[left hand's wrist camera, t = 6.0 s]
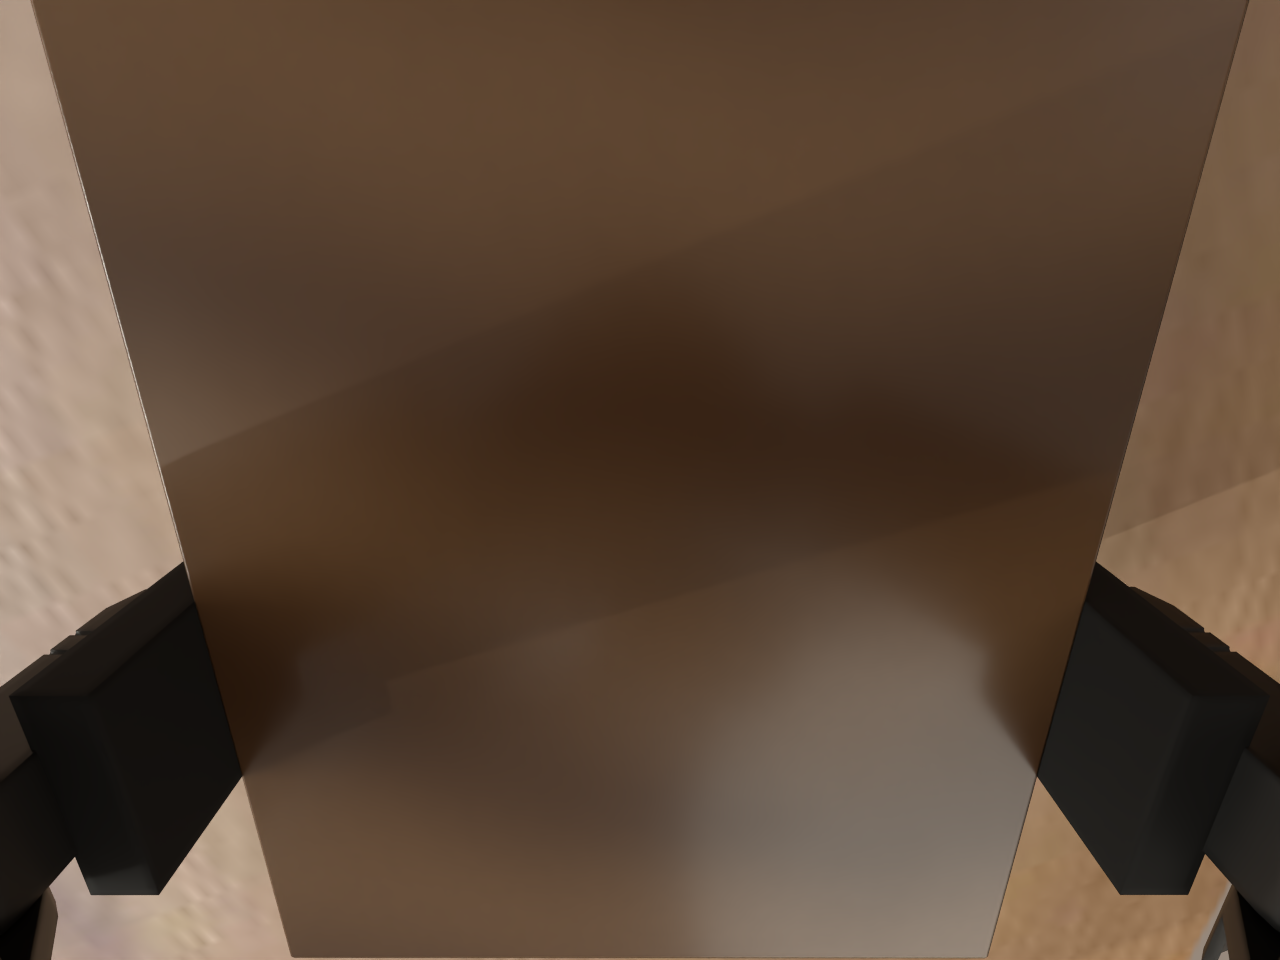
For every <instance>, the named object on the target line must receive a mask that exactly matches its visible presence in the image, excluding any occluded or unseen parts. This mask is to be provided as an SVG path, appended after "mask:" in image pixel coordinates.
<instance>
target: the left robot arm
mask: <svg viewBox="0 0 1280 960" xmlns="http://www.w3.org/2000/svg"><path fill="white" fill-rule="evenodd" d="M241 777H242V774H241V770H240V767H239V763H238V759H237V756H236V752H235V748H234V745H233V741H232V737H231V734H230V730H229V726H228V723H227V719H226V715H225V712H224V708H223V704H222V701H221V697H220V693H219V690H218V686H217V682H216V679H215V675H214V671H213V668H212V664H211V660H210V657H209V653H208V649H207V645H206V642H205V638H204V634H203V631H202V627H201V623H200V620H199V616H198V612H197V609H196V605H195V601H194V598H193V594H192V590H191V587H190V583H189V579H188V576H187V572H186V568H185V565H184V561H183V562H182V563H181V564H179V565H178V566H177V567H175V568H174V569H173V570H172V571H170V572H169V573H168V574H166V575H165V576H164V577H162V578H161V579H160V580H159V581H157V582H156V583H155V584H153V585H152V586H151V587H149V588H148V589H145V590H143V591H141V592H139V593H137V594H135V595H133V596H131V597H129V598H127V599H125V600H122V601H120V602H118V603H116V604H114V605H112V606H110V607H108V608H106V609H105V610H103V611H102V612H100V613H99V614H98V615H96V616H95V617H94V618H92V619H91V620H90V621H88V622H87V623H86V624H84V625H83V626H82V627H80V628H79V629H78V630H76V634H75V635H70V636H68V637H67V638H66V639H64V640H63V641H62V642H60V643H59V644H58V645H56V646H55V647H54V648H52V649H51V652H50V655H43V656H42V657H40V658H39V659H37V660H36V661H35V662H33V663H32V664H31V665H29V666H28V667H27V668H25V669H24V670H23V671H21V672H20V673H19V674H17V675H16V676H15V677H13V678H12V679H11V680H9V681H8V682H7V683H5V684H4V685H3V686H1V687H0V960H51V956H52V950H53V944H54V938H55V932H56V926H57V920H58V913H57V907H56V901H55V899H54V897H53V894H52V892H51V890H50V888H49V886H50V885H51V883H52V882H53V881H54V880H55V879H56V878H57V877H58V875H59V874H60V873H61V872H62V871H63V870H64V869H65V867H66V866H67V865H68V864H69V863H70V862H71V861H72V859H73V858H74V857H75V858H76V860H77V863H78V865H79V867H80V870H81V872H82V875H83V877H84V879H85V882H86V884H87V887H88V889H89V892H90V894H91V895H159V894H160V893H161V891H162V890H163V888H164V887H165V886H166V884H167V883H168V881H169V880H170V878H171V877H172V876H173V874H174V873H175V871H176V870H177V868H178V867H179V866H180V864H181V863H182V861H183V860H184V858H185V857H186V856H187V854H188V853H189V851H190V850H191V848H192V847H193V846H194V844H195V843H196V841H197V840H198V838H199V837H200V836H201V834H202V833H203V831H204V830H205V829H206V827H207V826H208V824H209V823H210V821H211V820H212V819H213V817H214V816H215V814H216V813H217V811H218V810H219V809H220V807H221V806H222V804H223V803H224V801H225V800H226V799H227V797H228V796H229V794H230V793H231V791H232V790H233V789H234V787H235V786H236V784H237V783H238V781H239V780H240V779H241ZM1037 777H1038V778H1039V780H1040V781H1041V783H1042V784H1043V785H1044V787H1045V788H1046V790H1047V791H1048V793H1049V794H1050V795H1051V797H1052V798H1053V800H1054V801H1055V803H1056V804H1057V805H1058V807H1059V808H1060V810H1061V811H1062V813H1063V814H1064V815H1065V817H1066V818H1067V820H1068V821H1069V822H1070V824H1071V825H1072V827H1073V828H1074V830H1075V831H1076V832H1077V834H1078V835H1079V837H1080V838H1081V840H1082V841H1083V842H1084V844H1085V845H1086V847H1087V848H1088V850H1089V851H1090V852H1091V854H1092V855H1093V857H1094V858H1095V860H1096V861H1097V862H1098V864H1099V865H1100V867H1101V868H1102V870H1103V871H1104V872H1105V874H1106V875H1107V877H1108V878H1109V880H1110V881H1111V882H1112V884H1113V885H1114V887H1115V888H1116V889H1117V891H1118V892H1119V894H1120V895H1188V894H1189V891H1190V889H1191V887H1192V884H1193V882H1194V879H1195V877H1196V874H1197V872H1198V870H1199V867H1200V865H1201V862H1202V860H1203V857H1204V855H1205V854H1206V855H1207V856H1208V857H1209V859H1210V860H1211V861H1212V862H1213V863H1214V864H1215V865H1216V867H1217V868H1218V869H1219V870H1220V871H1221V872H1222V873H1223V874H1224V876H1225V877H1226V878H1227V879H1228V880H1229V881H1230V882H1231V884H1232V885H1231V888H1230V890H1229V892H1228V895H1227V897H1226V899H1225V901H1224V903H1223V906H1222V908H1221V910H1220V913H1219V915H1218V917H1217V919H1216V922H1215V924H1214V926H1213V928H1212V931H1211V933H1210V935H1209V937H1208V940H1207V942H1206V944H1205V946H1204V949H1203V955H1202V960H1218V959H1219V956H1220V954H1221V953H1222V952H1224V951H1227V950H1228V954H1229V960H1280V684H1279V683H1278V682H1276V681H1275V680H1274V679H1272V678H1271V677H1269V676H1268V675H1267V674H1265V673H1264V672H1263V671H1261V670H1260V669H1259V668H1257V667H1256V666H1255V665H1253V664H1252V663H1251V662H1249V661H1248V660H1247V659H1245V658H1244V657H1242V656H1241V655H1240V654H1238V653H1237V652H1230V650H1229V646H1228V645H1226V644H1225V643H1224V642H1222V641H1221V640H1220V639H1218V638H1217V637H1215V636H1214V635H1213V634H1211V633H1205V632H1204V628H1203V627H1202V626H1201V625H1199V624H1198V623H1197V622H1195V621H1194V620H1192V619H1191V618H1190V617H1188V616H1187V615H1186V614H1184V613H1183V612H1182V611H1180V610H1179V609H1178V608H1176V607H1175V606H1173V605H1171V604H1169V603H1167V602H1165V601H1163V600H1161V599H1159V598H1157V597H1155V596H1152V595H1150V594H1148V593H1146V592H1144V591H1142V590H1140V589H1138V588H1136V587H1128V586H1127V585H1126V584H1124V583H1123V582H1122V581H1121V580H1119V579H1118V578H1117V577H1115V576H1114V575H1113V574H1112V573H1110V572H1109V571H1108V570H1106V569H1105V568H1104V567H1102V566H1101V565H1100V564H1099V563H1097V562H1095V566H1094V570H1093V573H1092V577H1091V580H1090V584H1089V588H1088V591H1087V595H1086V599H1085V602H1084V606H1083V610H1082V613H1081V617H1080V621H1079V624H1078V628H1077V632H1076V635H1075V639H1074V643H1073V646H1072V650H1071V654H1070V657H1069V661H1068V665H1067V668H1066V672H1065V676H1064V679H1063V683H1062V687H1061V690H1060V694H1059V698H1058V701H1057V705H1056V708H1055V712H1054V716H1053V719H1052V723H1051V727H1050V730H1049V734H1048V738H1047V741H1046V745H1045V749H1044V752H1043V756H1042V760H1041V763H1040V767H1039V771H1038V774H1037Z"/></svg>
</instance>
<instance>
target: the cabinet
mask: <svg viewBox="0 0 1280 960" xmlns="http://www.w3.org/2000/svg"><path fill="white" fill-rule="evenodd" d="M1248 3H1249V0H31V4H32V7H33V11H34V15H35V18H36V22H37V26H38V29H39V33H40V37H41V40H42V44H43V48H44V51H45V55H46V59H47V62H48V66H49V70H50V73H51V77H52V81H53V84H54V88H55V92H56V95H57V99H58V103H59V106H60V110H61V114H62V117H63V121H64V125H65V128H66V132H67V136H68V139H69V143H70V147H71V150H72V154H73V158H74V161H75V165H76V169H77V172H78V176H79V180H80V183H81V187H82V191H83V194H84V198H85V202H86V205H87V209H88V213H89V216H90V220H91V224H92V227H93V231H94V235H95V238H96V242H97V246H98V249H99V253H100V257H101V260H102V264H103V268H104V271H105V275H106V279H107V282H108V286H109V290H110V293H111V297H112V301H113V304H114V308H115V312H116V315H117V319H118V323H119V326H120V330H121V334H122V337H123V341H124V345H125V348H126V352H127V356H128V359H129V363H130V367H131V370H132V374H133V378H134V381H135V385H136V389H137V392H138V396H139V400H140V403H141V407H142V411H143V414H144V418H145V422H146V425H147V429H148V433H149V436H150V440H151V444H152V447H153V451H154V455H155V458H156V462H157V466H158V469H159V473H160V477H161V480H162V484H163V488H164V491H165V495H166V499H167V502H168V506H169V510H170V513H171V517H172V521H173V524H174V528H175V532H176V535H177V539H178V543H179V546H180V550H181V554H182V557H183V561H184V565H185V568H186V572H187V576H188V579H189V583H190V587H191V590H192V594H193V598H194V601H195V605H196V609H197V612H198V616H199V620H200V623H201V627H202V631H203V634H204V638H205V642H206V645H207V649H208V653H209V657H210V660H211V664H212V668H213V671H214V675H215V679H216V682H217V686H218V690H219V693H220V697H221V701H222V704H223V708H224V712H225V715H226V719H227V723H228V726H229V730H230V734H231V737H232V741H233V745H234V748H235V752H236V756H237V759H238V763H239V767H240V770H241V774H242V778H243V781H244V785H245V789H246V792H247V796H248V800H249V803H250V807H251V811H252V814H253V818H254V822H255V825H256V829H257V833H258V836H259V840H260V844H261V847H262V851H263V855H264V858H265V862H266V866H267V869H268V873H269V877H270V880H271V884H272V888H273V891H274V895H275V899H276V902H277V906H278V910H279V913H280V917H281V921H282V924H283V928H284V932H285V935H286V939H287V943H288V946H289V950H290V954H291V956H292V957H294V958H986V957H988V953H989V950H990V946H991V943H992V939H993V935H994V932H995V928H996V924H997V921H998V917H999V913H1000V910H1001V906H1002V902H1003V899H1004V895H1005V891H1006V888H1007V884H1008V880H1009V877H1010V873H1011V869H1012V866H1013V862H1014V858H1015V855H1016V851H1017V847H1018V844H1019V840H1020V836H1021V833H1022V829H1023V825H1024V822H1025V818H1026V815H1027V811H1028V807H1029V804H1030V800H1031V796H1032V793H1033V789H1034V785H1035V782H1036V778H1037V774H1038V771H1039V767H1040V763H1041V760H1042V756H1043V752H1044V749H1045V745H1046V741H1047V738H1048V734H1049V730H1050V727H1051V723H1052V719H1053V716H1054V712H1055V708H1056V705H1057V701H1058V698H1059V694H1060V690H1061V687H1062V683H1063V679H1064V676H1065V672H1066V668H1067V665H1068V661H1069V657H1070V654H1071V650H1072V646H1073V643H1074V639H1075V635H1076V632H1077V628H1078V624H1079V621H1080V617H1081V613H1082V610H1083V606H1084V602H1085V599H1086V595H1087V591H1088V588H1089V584H1090V580H1091V577H1092V573H1093V570H1094V566H1095V562H1096V559H1097V555H1098V551H1099V548H1100V544H1101V540H1102V537H1103V533H1104V529H1105V526H1106V522H1107V518H1108V515H1109V511H1110V507H1111V504H1112V500H1113V496H1114V493H1115V489H1116V485H1117V482H1118V478H1119V474H1120V471H1121V467H1122V463H1123V460H1124V456H1125V453H1126V449H1127V445H1128V442H1129V438H1130V434H1131V431H1132V427H1133V423H1134V420H1135V416H1136V412H1137V409H1138V405H1139V401H1140V398H1141V394H1142V390H1143V387H1144V383H1145V379H1146V376H1147V372H1148V368H1149V365H1150V361H1151V357H1152V354H1153V350H1154V346H1155V343H1156V339H1157V336H1158V332H1159V328H1160V325H1161V321H1162V317H1163V314H1164V310H1165V306H1166V303H1167V299H1168V295H1169V292H1170V288H1171V284H1172V281H1173V277H1174V273H1175V270H1176V266H1177V262H1178V259H1179V255H1180V251H1181V248H1182V244H1183V240H1184V237H1185V233H1186V229H1187V226H1188V222H1189V218H1190V215H1191V211H1192V208H1193V204H1194V200H1195V197H1196V193H1197V189H1198V186H1199V182H1200V178H1201V175H1202V171H1203V167H1204V164H1205V160H1206V156H1207V153H1208V149H1209V145H1210V142H1211V138H1212V134H1213V131H1214V127H1215V123H1216V120H1217V116H1218V112H1219V109H1220V105H1221V101H1222V98H1223V94H1224V91H1225V87H1226V83H1227V80H1228V76H1229V72H1230V69H1231V65H1232V61H1233V58H1234V54H1235V50H1236V47H1237V43H1238V39H1239V36H1240V32H1241V28H1242V25H1243V21H1244V17H1245V14H1246V10H1247V6H1248Z"/></svg>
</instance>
